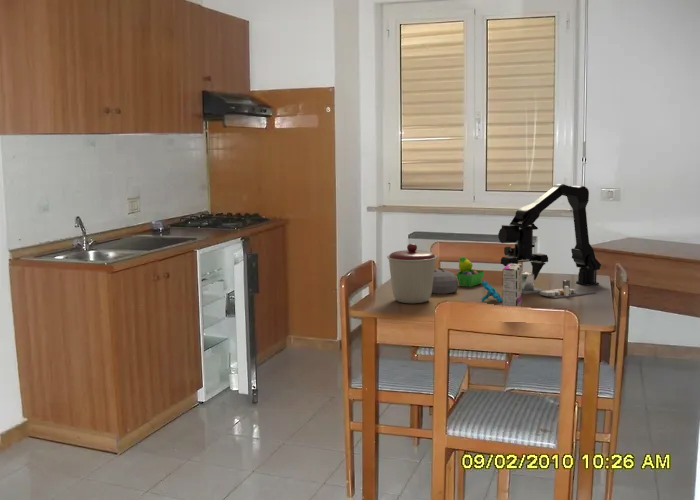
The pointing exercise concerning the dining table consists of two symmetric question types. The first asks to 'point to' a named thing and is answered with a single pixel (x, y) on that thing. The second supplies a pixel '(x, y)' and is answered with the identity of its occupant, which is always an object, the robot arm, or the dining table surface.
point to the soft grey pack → (444, 282)
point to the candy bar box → (512, 285)
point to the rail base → (566, 293)
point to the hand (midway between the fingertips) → (524, 281)
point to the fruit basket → (468, 273)
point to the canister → (412, 274)
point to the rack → (558, 290)
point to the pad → (532, 291)
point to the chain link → (527, 281)
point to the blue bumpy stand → (491, 292)
